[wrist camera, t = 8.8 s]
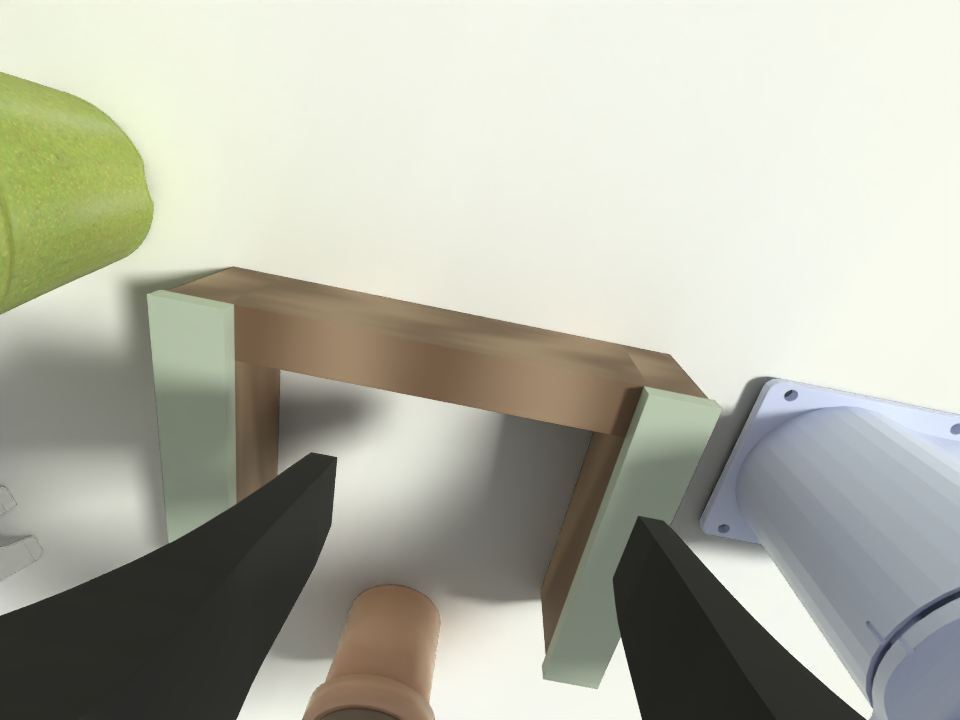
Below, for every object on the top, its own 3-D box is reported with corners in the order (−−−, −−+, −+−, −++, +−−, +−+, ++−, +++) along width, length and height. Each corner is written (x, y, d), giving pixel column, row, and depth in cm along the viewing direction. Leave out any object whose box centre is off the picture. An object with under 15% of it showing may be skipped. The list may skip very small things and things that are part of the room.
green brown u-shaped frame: (674, 355, 19) (722, 409, 15) (581, 598, 24) (597, 689, 20) (228, 265, 19) (146, 294, 15) (233, 532, 24) (174, 610, 20)
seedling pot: (446, 582, 25) (429, 706, 19) (448, 657, 27) (433, 788, 21) (338, 576, 25) (288, 697, 19) (348, 651, 27) (306, 780, 21)
